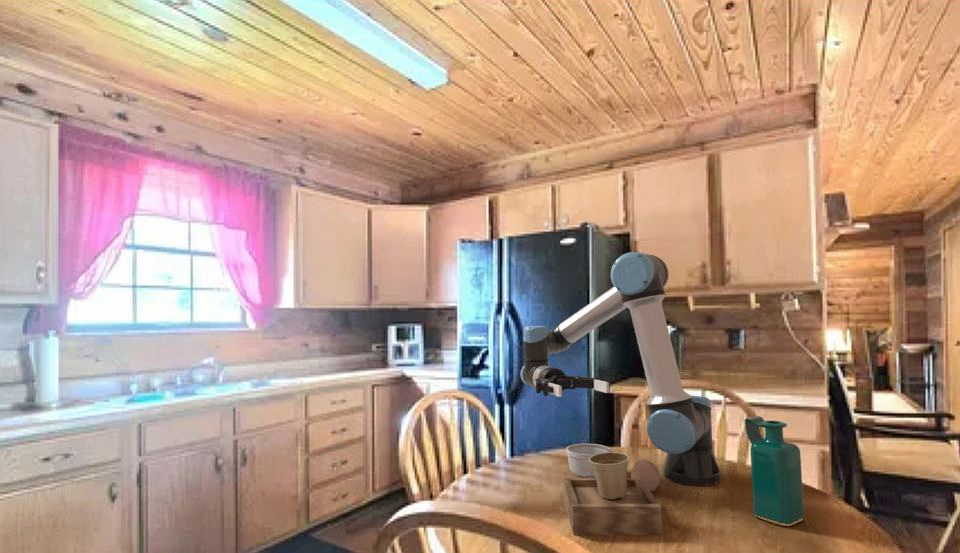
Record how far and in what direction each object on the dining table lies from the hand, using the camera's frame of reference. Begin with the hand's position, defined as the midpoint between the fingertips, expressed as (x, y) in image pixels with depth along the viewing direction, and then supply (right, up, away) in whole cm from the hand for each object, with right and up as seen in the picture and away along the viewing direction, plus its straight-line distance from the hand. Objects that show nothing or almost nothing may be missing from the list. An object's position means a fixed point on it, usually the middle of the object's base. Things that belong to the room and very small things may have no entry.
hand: (584, 389), depth 137 cm
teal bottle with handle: (+41, -26, -15) cm, 51 cm away
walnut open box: (+3, -28, -13) cm, 31 cm away
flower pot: (+5, -23, -12) cm, 26 cm away
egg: (+17, -28, +3) cm, 33 cm away
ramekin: (+6, -29, +21) cm, 36 cm away
